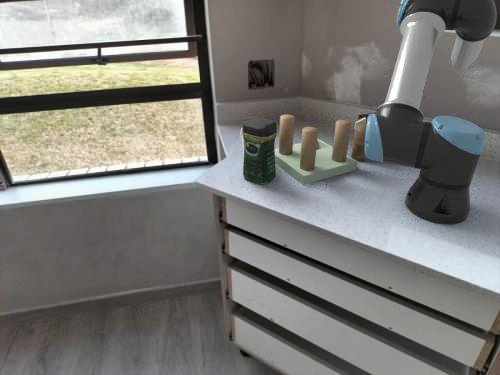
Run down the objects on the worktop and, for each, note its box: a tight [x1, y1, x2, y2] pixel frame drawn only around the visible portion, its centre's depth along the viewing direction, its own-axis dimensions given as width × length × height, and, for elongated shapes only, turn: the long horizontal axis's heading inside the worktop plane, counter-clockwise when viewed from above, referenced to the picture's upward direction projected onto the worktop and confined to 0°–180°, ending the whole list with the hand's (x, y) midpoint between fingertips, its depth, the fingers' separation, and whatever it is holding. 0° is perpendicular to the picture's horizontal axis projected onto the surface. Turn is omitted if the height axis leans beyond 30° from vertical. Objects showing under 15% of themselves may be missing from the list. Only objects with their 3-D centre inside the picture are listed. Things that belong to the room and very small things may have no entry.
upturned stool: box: [275, 113, 358, 186], centre depth 115 cm, size 20×20×15 cm
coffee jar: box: [242, 115, 278, 185], centre depth 106 cm, size 10×8×19 cm
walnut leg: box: [350, 121, 367, 163], centre depth 119 cm, size 4×4×12 cm
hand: (374, 131), depth 124 cm, fingers open, 13 cm apart
